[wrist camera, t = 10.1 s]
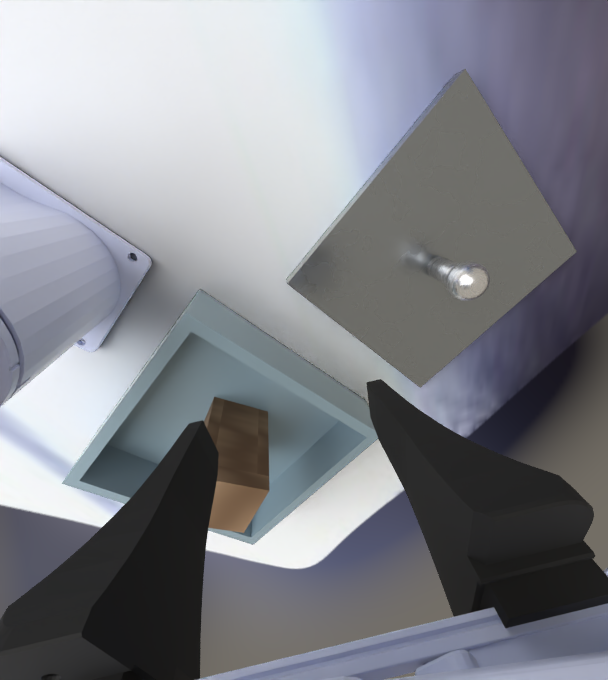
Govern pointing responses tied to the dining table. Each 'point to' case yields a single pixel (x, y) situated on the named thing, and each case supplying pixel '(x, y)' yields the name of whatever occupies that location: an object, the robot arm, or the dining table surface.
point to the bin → (237, 386)
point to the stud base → (435, 239)
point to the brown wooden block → (238, 463)
